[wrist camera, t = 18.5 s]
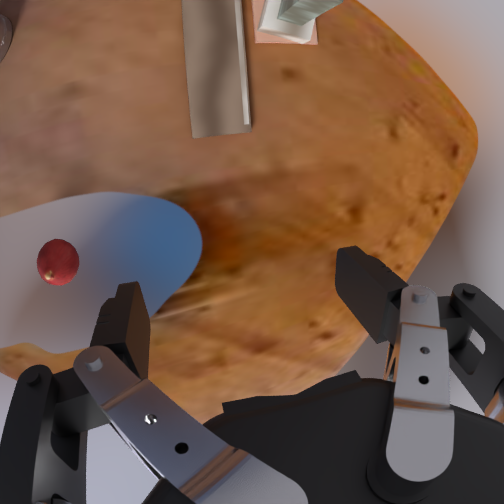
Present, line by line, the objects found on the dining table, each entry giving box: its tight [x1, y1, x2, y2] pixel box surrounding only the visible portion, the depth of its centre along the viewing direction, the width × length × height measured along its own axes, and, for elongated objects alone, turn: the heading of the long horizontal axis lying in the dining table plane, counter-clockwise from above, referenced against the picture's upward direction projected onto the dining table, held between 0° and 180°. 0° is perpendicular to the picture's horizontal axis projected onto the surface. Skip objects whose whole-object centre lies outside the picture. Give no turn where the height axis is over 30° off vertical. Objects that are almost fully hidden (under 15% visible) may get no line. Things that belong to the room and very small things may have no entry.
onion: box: [37, 239, 79, 285], centre depth 34 cm, size 6×6×8 cm
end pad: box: [252, 0, 318, 45], centre depth 30 cm, size 8×8×1 cm
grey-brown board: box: [182, 0, 252, 139], centre depth 31 cm, size 7×21×1 cm, turn 4°
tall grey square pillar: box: [257, 0, 343, 44], centre depth 24 cm, size 6×6×13 cm
